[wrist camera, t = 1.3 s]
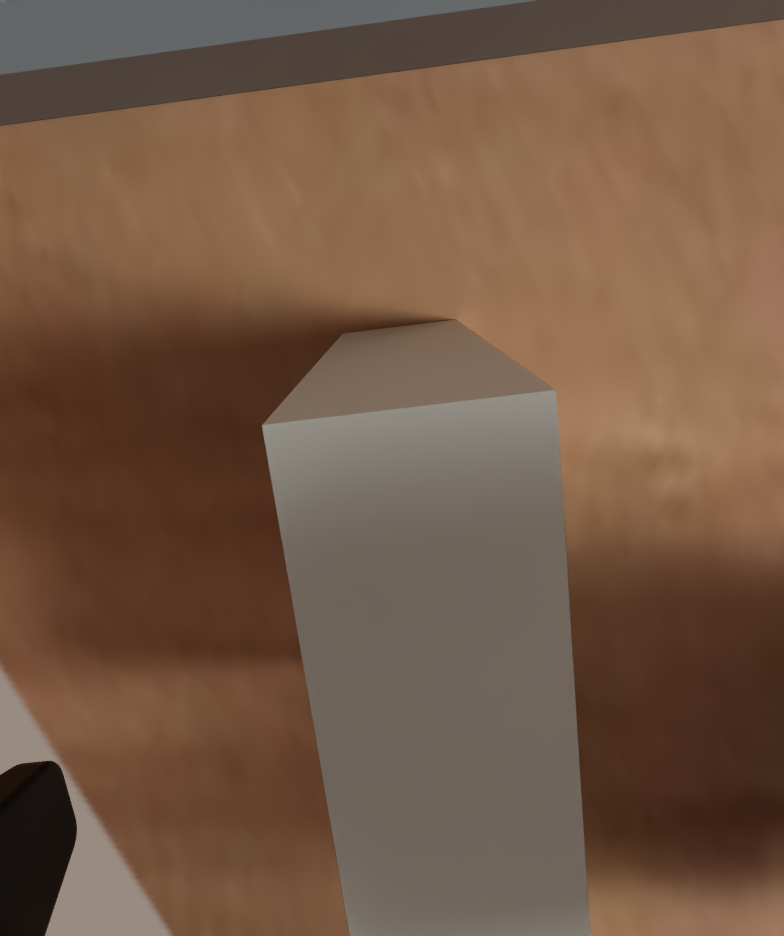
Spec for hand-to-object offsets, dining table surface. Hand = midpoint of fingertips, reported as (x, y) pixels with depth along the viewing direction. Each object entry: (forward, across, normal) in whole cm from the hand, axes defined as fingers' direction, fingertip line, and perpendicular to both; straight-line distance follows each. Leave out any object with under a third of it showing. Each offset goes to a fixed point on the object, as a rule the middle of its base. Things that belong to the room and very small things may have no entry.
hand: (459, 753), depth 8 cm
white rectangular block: (+9, 0, 0) cm, 9 cm away
